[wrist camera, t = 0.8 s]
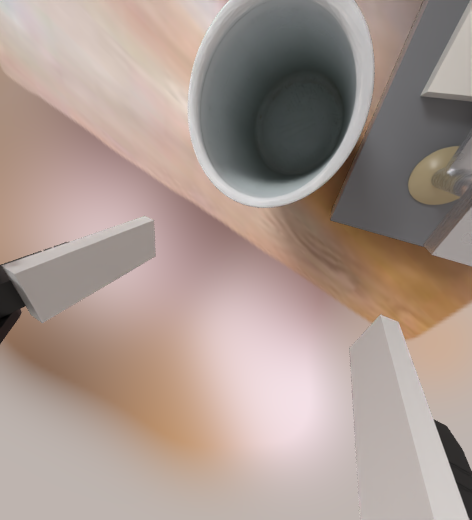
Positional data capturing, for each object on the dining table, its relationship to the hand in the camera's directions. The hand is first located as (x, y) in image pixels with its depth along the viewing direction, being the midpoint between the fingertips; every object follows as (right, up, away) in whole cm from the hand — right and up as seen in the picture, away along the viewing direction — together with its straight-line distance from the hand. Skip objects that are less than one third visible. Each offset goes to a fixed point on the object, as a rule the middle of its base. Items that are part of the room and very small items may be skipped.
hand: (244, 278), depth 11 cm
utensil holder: (+9, +21, +19) cm, 29 cm away
